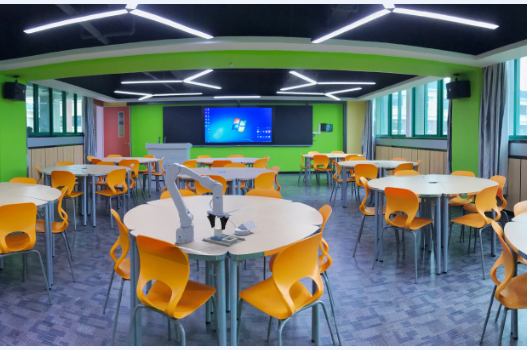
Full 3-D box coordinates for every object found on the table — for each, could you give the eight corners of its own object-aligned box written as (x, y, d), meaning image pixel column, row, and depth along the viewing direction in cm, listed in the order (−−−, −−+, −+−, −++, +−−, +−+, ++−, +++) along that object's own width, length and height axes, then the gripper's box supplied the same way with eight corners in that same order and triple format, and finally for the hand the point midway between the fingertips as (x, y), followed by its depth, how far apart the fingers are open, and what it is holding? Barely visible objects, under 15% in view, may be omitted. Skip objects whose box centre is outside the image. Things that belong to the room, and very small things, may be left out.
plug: (218, 240, 190) (218, 229, 189) (214, 239, 192) (214, 228, 191) (222, 238, 193) (222, 228, 192) (218, 237, 194) (218, 227, 194)
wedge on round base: (246, 230, 213) (231, 234, 203) (246, 219, 213) (231, 223, 203) (257, 232, 208) (243, 237, 198) (257, 221, 207) (243, 226, 197)
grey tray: (229, 248, 179) (229, 242, 178) (201, 241, 190) (201, 236, 190) (246, 241, 190) (246, 236, 190) (218, 235, 201) (218, 230, 201)
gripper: (232, 204, 189) (232, 229, 191) (213, 201, 197) (213, 225, 199) (224, 207, 183) (224, 231, 185) (204, 203, 192) (204, 227, 193)
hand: (218, 228), depth 192 cm, fingers open, 7 cm apart
